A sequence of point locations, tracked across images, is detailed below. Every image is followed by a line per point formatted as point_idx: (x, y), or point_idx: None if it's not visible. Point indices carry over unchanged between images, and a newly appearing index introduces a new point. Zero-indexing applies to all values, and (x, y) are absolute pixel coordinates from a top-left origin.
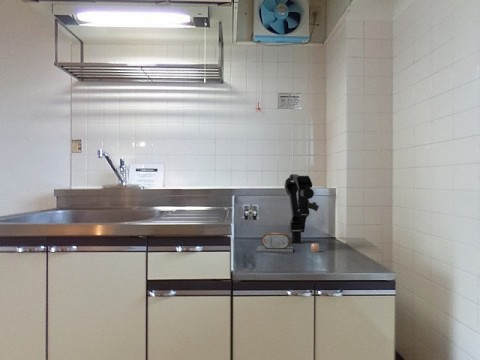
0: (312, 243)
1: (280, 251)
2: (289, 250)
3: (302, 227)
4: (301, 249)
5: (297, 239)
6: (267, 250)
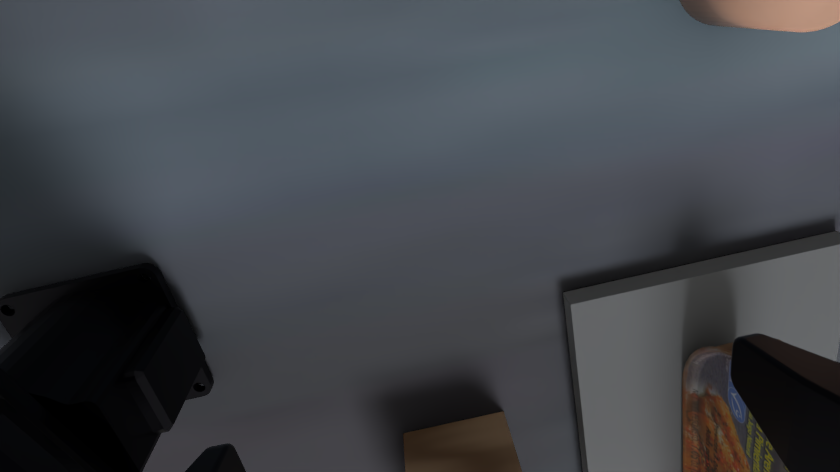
0: (766, 11)
1: (831, 356)
2: (813, 284)
3: (13, 433)
4: (602, 180)
5: (176, 346)
6: None
